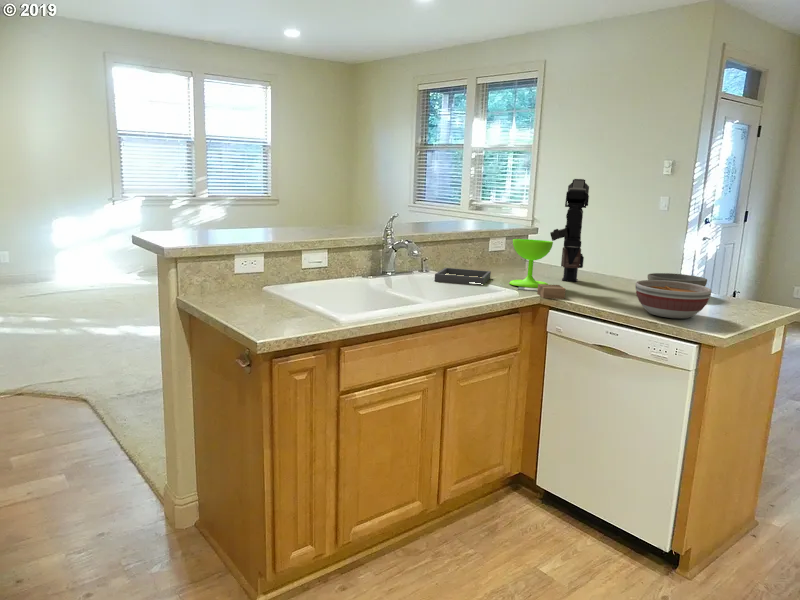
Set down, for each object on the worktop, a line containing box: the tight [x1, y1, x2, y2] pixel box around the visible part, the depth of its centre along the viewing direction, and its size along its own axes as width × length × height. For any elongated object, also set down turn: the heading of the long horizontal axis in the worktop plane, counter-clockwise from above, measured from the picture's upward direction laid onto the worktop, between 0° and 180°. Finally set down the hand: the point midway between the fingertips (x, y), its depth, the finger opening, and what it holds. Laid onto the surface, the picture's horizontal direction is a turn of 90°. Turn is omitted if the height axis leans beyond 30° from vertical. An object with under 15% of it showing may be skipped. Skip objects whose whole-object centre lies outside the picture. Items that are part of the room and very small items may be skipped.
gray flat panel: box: [517, 286, 538, 293], centre depth 239 cm, size 10×14×1 cm
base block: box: [536, 283, 566, 300], centre depth 226 cm, size 8×8×4 cm
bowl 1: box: [647, 272, 708, 287], centre depth 236 cm, size 21×21×8 cm
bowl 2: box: [635, 279, 712, 319], centre depth 200 cm, size 23×23×10 cm
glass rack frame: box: [434, 267, 492, 285], centre depth 255 cm, size 20×20×3 cm
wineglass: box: [508, 238, 554, 288], centre depth 246 cm, size 16×16×18 cm
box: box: [560, 246, 582, 269], centre depth 233 cm, size 6×6×7 cm
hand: (570, 263), depth 234 cm, fingers closed on box, 6 cm apart
